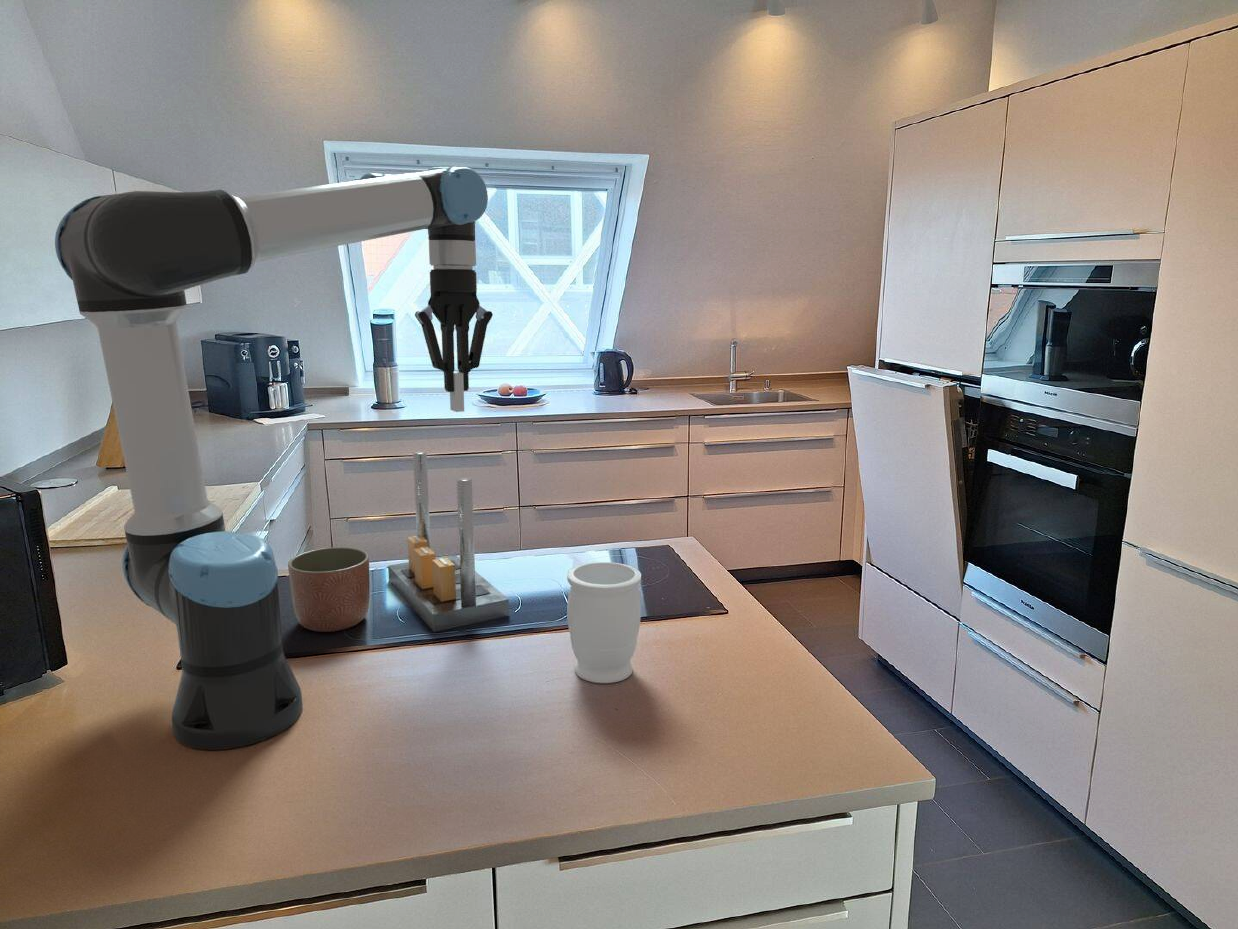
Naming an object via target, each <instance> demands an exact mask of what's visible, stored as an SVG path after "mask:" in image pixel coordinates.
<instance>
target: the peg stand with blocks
mask: <svg viewBox="0 0 1238 929" xmlns="http://www.w3.org/2000/svg"><path fill="white" fill-rule="evenodd" d="M427 455H428V454H427V452H426V451H416V452H413V453H412V459H413V460H412V461H413V479H414V480H413V481H414V482H413V483H414V501H415V503H414V504H415V506H414V507H415V521H416V522H415V523H416V536H420V535H421V536H422V537H423V538H425V539H426V540H427V541H428V548H430V549H431V547H432V546H431V528H430V527H431V523H430V505H429V504H430V502H429V482H428V480H429V479H428V459H427V458H428V456H427ZM456 494H457V496H456V497H457V498H456V499H457V522H458V524H457V527H458V528H457V530H458V549H459V550H458V553H459V556H458V555H457V554H456V553H455V554H450V555H444V556H437V557H436V556H435V560H436V559H440V558H448V559H449V560H450V561H451V562H452V563H453V564H455V584H456V599H452V600H447V601H442V602H441V601H440V600H439V599H438V598H437V597H436V596H435V594H434V589H433V587H431V588H425V589H422V588H421V587H420V586H419V585H418V584H417V583H416V582H415V574H414V573H413V572H412V571H411V570H410V569H409V561H408V562H402V563H395V564H389V565H387V571H388V572H387V573H388V582H390V584H391V585H392V586H393V588H395V590H396V591H397V592H398V593H399V594H400V595H401V596H402V598H404V599H405V601H406V602H407V603H408V605H410V607H411V608H412V609H413V610H414V611H415V612H416V614H418V616H420V618H421V619H422V620H423V622H425V624H426V625H427V626H428V627H429V628H430V629H431V630H432V632H433V633H435V632H442V631H445V630H450V629H453V628H454V629H455V628H459V627H464V626H469V625H473V624H478V623H482V622H487V621H492V620H496V619H501V618H504V617H509V616H510V599H509V598H508V597H507V596H506V595H504V594H503V593H502V592H501V591H500V590H499V589H498V588H496V587H495V586H494V585H493V584H492V583H490V582H489V581H488V580H487V579H485V578H484V577H483V575H480V573H478V572H477V571H476V564H475V563H476V562H475V561H476V560H475V533H474V532H475V531H474V498H473V479H472V478H467V477H462V478H458V479H456ZM431 550H432V549H431Z"/></svg>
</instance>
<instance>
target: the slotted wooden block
mask: <svg viewBox="0 0 1238 929" xmlns="http://www.w3.org/2000/svg"><path fill="white" fill-rule="evenodd" d="M432 566H433V589H434V594H435V596H436V597H437V598H438V599H439V600H440V601H441V602H442V601H447V600H452V599H456V584H455V564H453V563H452V562H451V561H450V560H449V559H448V558H440V559H436V560H432Z"/></svg>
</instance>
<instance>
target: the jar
mask: <svg viewBox="0 0 1238 929" xmlns="http://www.w3.org/2000/svg"><path fill="white" fill-rule="evenodd" d="M641 582H642V573H641V572H640V571H639V569H637V568H635V567H634V566H631V565H628V564H624V563H620V562H613V561H612V562H611V561H593V562H586V563H582V564H579V565H576V566H573V567H572V568H570V570H568V572H567V583H568V584H569V585H570V589H569V590H568V595H567V596H568V597H567V607H566V617H567V626H568V632H569V636H570V638H569V639H570V644H571V649H572V651H573V654H574V656H575V658H576V660H577V661H576V662H575V664H574V671H575V673H576V675H577V677H579V678H581V679H583V680H584V681H587V682H591V683H595V684H596V683H597V684H612V683H613V684H614V683H619V682H621V681H624V680H626V679H627V678H629V677H630V676H631V675H632V673H633V670H634V669H633V664H632V662H631V660H632V658H633V656H634V654H635V650H636V648H637V643H638V642H637V641H638V636H639V631H640V626H641V616H642V615H641V614H642V613H641V612H642V610H641V608H642V607H641V596H640V591H639V588H638V586H639V585H640V584H641Z"/></svg>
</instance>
